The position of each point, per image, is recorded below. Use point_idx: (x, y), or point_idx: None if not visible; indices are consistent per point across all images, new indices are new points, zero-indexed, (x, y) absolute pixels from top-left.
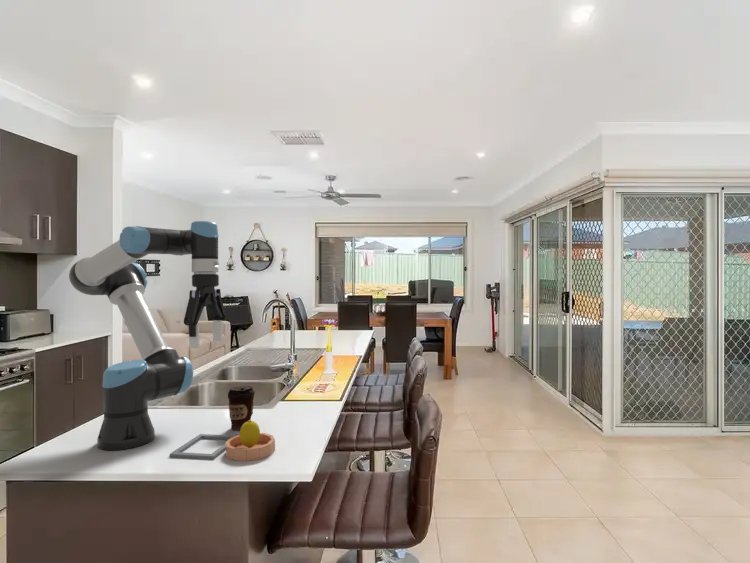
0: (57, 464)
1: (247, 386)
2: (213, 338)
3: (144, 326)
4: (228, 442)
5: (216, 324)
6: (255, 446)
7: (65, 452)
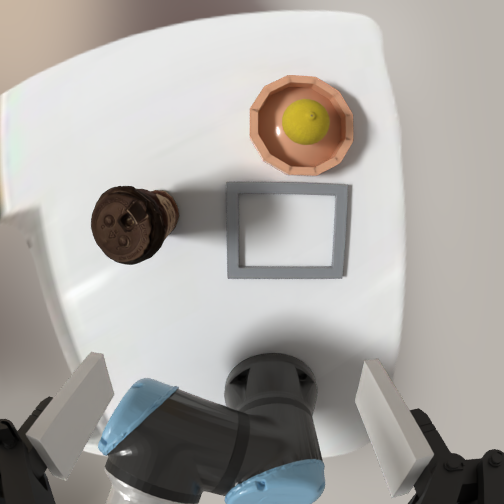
0: None
1: (97, 219)
2: (108, 401)
3: None
4: (319, 168)
5: (66, 444)
6: None
7: (320, 430)
